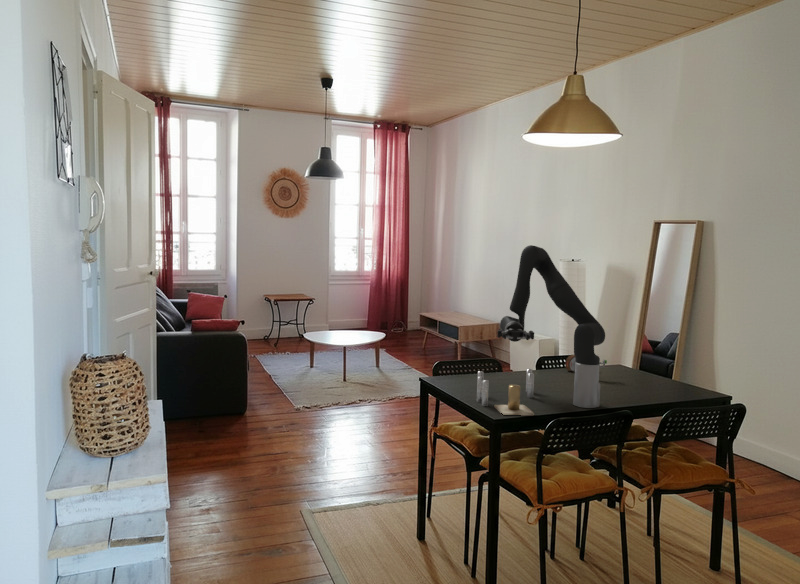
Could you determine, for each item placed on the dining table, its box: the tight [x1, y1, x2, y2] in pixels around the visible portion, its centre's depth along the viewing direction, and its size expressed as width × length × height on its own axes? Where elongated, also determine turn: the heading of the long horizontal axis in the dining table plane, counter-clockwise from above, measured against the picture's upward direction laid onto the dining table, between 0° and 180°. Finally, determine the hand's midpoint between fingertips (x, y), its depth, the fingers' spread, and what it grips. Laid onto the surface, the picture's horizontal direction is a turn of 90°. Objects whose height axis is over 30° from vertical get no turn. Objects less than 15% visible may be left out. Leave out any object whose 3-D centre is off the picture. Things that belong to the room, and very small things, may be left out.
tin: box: [564, 354, 576, 373], centre depth 311 cm, size 15×3×8 cm, turn 122°
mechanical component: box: [599, 359, 608, 369], centre depth 292 cm, size 3×10×10 cm, turn 79°
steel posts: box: [476, 368, 535, 407], centre depth 251 cm, size 28×24×10 cm
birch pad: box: [493, 404, 535, 416], centre depth 233 cm, size 12×12×1 cm
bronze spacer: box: [507, 383, 521, 410], centre depth 232 cm, size 4×4×9 cm
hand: (516, 336), depth 235 cm, fingers open, 8 cm apart
